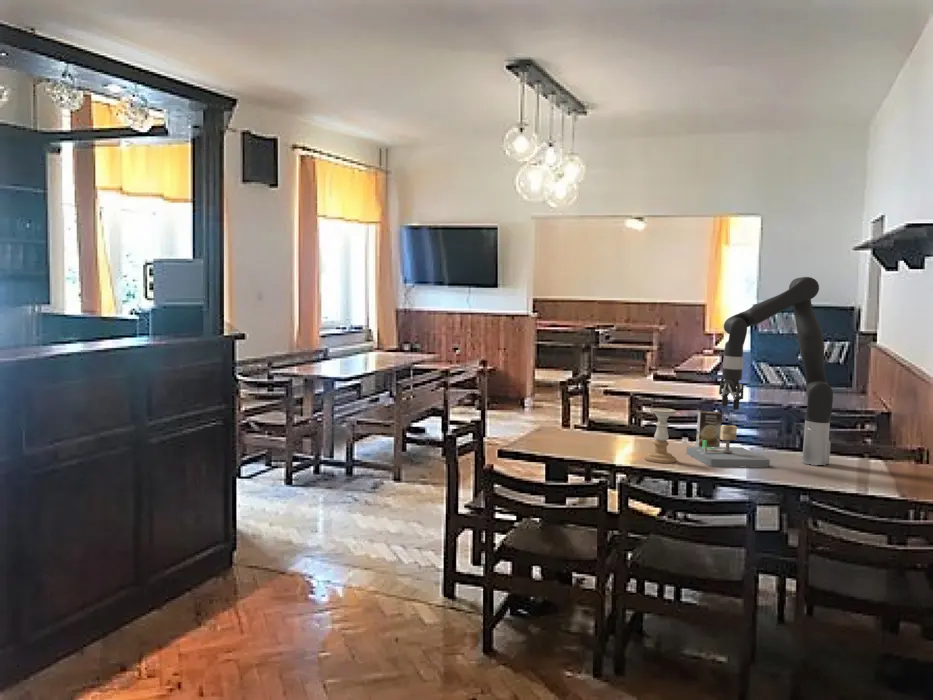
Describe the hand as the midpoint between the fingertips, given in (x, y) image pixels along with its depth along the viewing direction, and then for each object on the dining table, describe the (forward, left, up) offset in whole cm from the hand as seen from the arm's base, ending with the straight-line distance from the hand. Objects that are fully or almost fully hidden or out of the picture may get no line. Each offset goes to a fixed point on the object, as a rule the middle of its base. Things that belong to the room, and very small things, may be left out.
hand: (730, 407), depth 345 cm
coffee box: (-2, -23, -22) cm, 32 cm away
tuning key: (+3, 0, -18) cm, 18 cm away
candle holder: (+28, 0, -22) cm, 35 cm away
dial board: (0, 0, -21) cm, 21 cm away
